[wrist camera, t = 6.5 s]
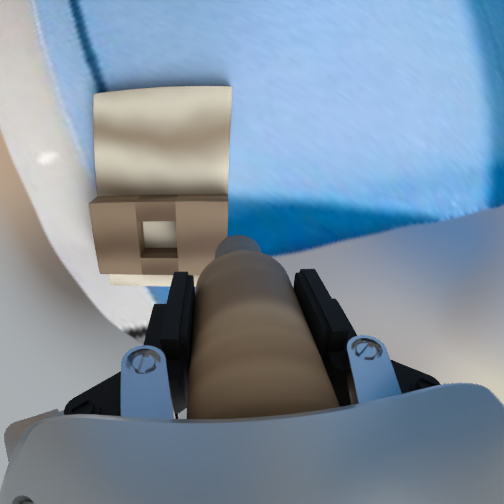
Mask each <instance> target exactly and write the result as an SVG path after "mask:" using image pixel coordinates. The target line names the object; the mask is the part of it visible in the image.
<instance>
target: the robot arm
mask: <svg viewBox="0 0 504 504" xmlns="http://www.w3.org/2000/svg"><path fill="white" fill-rule="evenodd" d="M293 289H294V292H295V294H296V296H297V299H298V301H299V304H300V306H301V309H302V311H303V314H304V316H305V319H306V321H307V324H308V326H309V329H310V331H311V334H312V336H313V339H314V341H315V344H316V346H317V349H318V351H319V354H320V356H321V359H322V361H323V364H324V366H325V369H326V372H327V374H328V377H329V379H330V382H331V384H332V387H333V390H334V392H335V395H336V397H337V400H338V403H339V405H340V407H336V408H330V409H324V410H317V411H310V412H303V413H295V414H286V415H276V416H264V417H250V418H231V419H179V414H178V413H180V412H181V411H182V410H184V409H185V408H187V401H188V381H189V368H190V354H191V340H192V326H193V314H194V303H195V289H194V276H193V275H189V274H188V272H174V274H173V278H172V282H171V287H170V291H169V296H168V300H167V304H154V307H153V310H152V314H151V318H150V321H149V325H148V329H147V333H146V337H145V341H144V345H143V346H138V347H135V348H133V349H130V350H129V351H128V352H127V353H125V355H124V356H123V358H122V362H121V372H119V373H117V374H115V375H114V376H112V377H110V378H108V379H107V380H105V381H103V382H101V383H100V384H98V385H96V386H94V387H92V388H91V389H89V390H87V391H85V392H84V393H82V394H80V395H78V396H77V397H75V398H73V399H72V400H70V401H69V403H68V404H67V405H66V407H65V409H64V410H63V411H60V412H59V410H58V409H55V410H52V411H50V412H46V413H43V414H40V415H37V416H34V417H31V418H27V419H24V420H20V421H17V422H14V423H13V424H11V425H10V426H9V427H8V428H7V429H6V431H5V434H4V441H5V446H6V452H7V456H8V461H9V464H8V467H7V470H6V473H5V477H4V480H3V483H2V487H1V492H0V504H504V405H503V403H502V402H501V401H500V400H499V399H498V397H497V396H496V395H495V394H493V393H492V392H491V391H490V390H489V389H488V388H486V387H484V386H482V385H478V384H473V383H451V384H443V385H441V384H440V383H439V382H438V381H437V380H436V379H435V378H434V377H432V376H430V375H427V374H425V373H422V372H420V371H417V370H415V369H412V368H410V367H407V366H405V365H402V364H400V363H397V362H395V361H393V360H390V358H389V355H388V352H387V349H386V347H385V346H384V344H383V343H382V342H381V341H380V340H378V339H376V338H374V337H371V336H366V335H360V336H357V334H356V333H355V331H354V329H353V327H352V325H351V324H350V322H349V320H348V318H347V317H346V315H345V313H344V311H343V310H342V308H341V306H340V305H339V303H338V301H337V300H336V299H332V298H331V296H330V295H329V293H328V291H327V289H326V288H325V286H324V284H323V282H322V281H321V279H320V277H319V276H318V274H317V272H316V270H315V269H301V270H300V272H299V273H296V274H295V280H294V288H293Z"/></svg>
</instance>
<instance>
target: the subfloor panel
mask: <svg viewBox="0 0 504 504" xmlns="http://www.w3.org/2000/svg"><path fill="white" fill-rule="evenodd" d="M231 103H232V86H176V87H155V88H141V89H130V90H120V91H111V92H104V93H96V94H94V106H93V122H94V155H95V172H96V185H97V196H98V197H96V198H95V199H94V200H93V201H92V202H90V203H89V208H90V216H91V224H92V231H93V237H94V243H95V249H96V255H97V261H98V266H99V271H100V274H109V278H110V283H111V285H129V286H171V282H172V278H173V274H174V272H188V274H189V275H193V276H194V287H196V284H197V281H198V278H199V276H200V274H201V273H202V271H203V270H204V268H205V267H206V266H207V265H208V264H209V263H211V262H212V261H213V260H215V251H216V249H217V247H218V245H219V244H220V243H221V242H222V241H223V240H224V239H226V238H227V229H228V169H229V144H230V122H231Z"/></svg>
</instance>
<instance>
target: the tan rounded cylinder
mask: <svg viewBox="0 0 504 504" xmlns="http://www.w3.org/2000/svg"><path fill="white" fill-rule="evenodd" d="M336 407H340V405H339V403H338V400H337V397H336V395H335V392H334V390H333V387H332V384H331V382H330V379H329V377H328V374H327V372H326V369H325V366H324V364H323V361H322V359H321V356H320V354H319V351H318V349H317V346H316V344H315V341H314V339H313V336H312V334H311V331H310V329H309V326H308V324H307V321H306V319H305V316H304V314H303V311H302V309H301V306H300V304H299V301H298V299H297V296H296V294H295V292H294V289H293V287H292V285H291V282H290V280H289V277H288V275H287V273H286V271H285V269H284V268H283V267H282V266H281V264H280V263H278V262H277V261H276V260H275V259H273V258H272V257H270V256H268V255H266V254H263V253H261V251H260V248H259V246H258V244H257V243H256V242H255V241H254V240H253V239H251V238H249V237H247V236H243V235H234V236H230V237H228V238H226V239H224V240H223V241H222V242H221V243H220V244H219V245H218V247H217V249H216V251H215V260H213V261H212V262H211V263H209V264H208V265H207V266H206V267H205V268H204V270H203V271H202V273H201V274H200V276H199V278H198V281H197V284H196V290H195V303H194V314H193V326H192V340H191V354H190V368H189V381H188V401H187V419H231V418H250V417H264V416H276V415H286V414H295V413H303V412H310V411H317V410H324V409H330V408H336Z"/></svg>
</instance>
